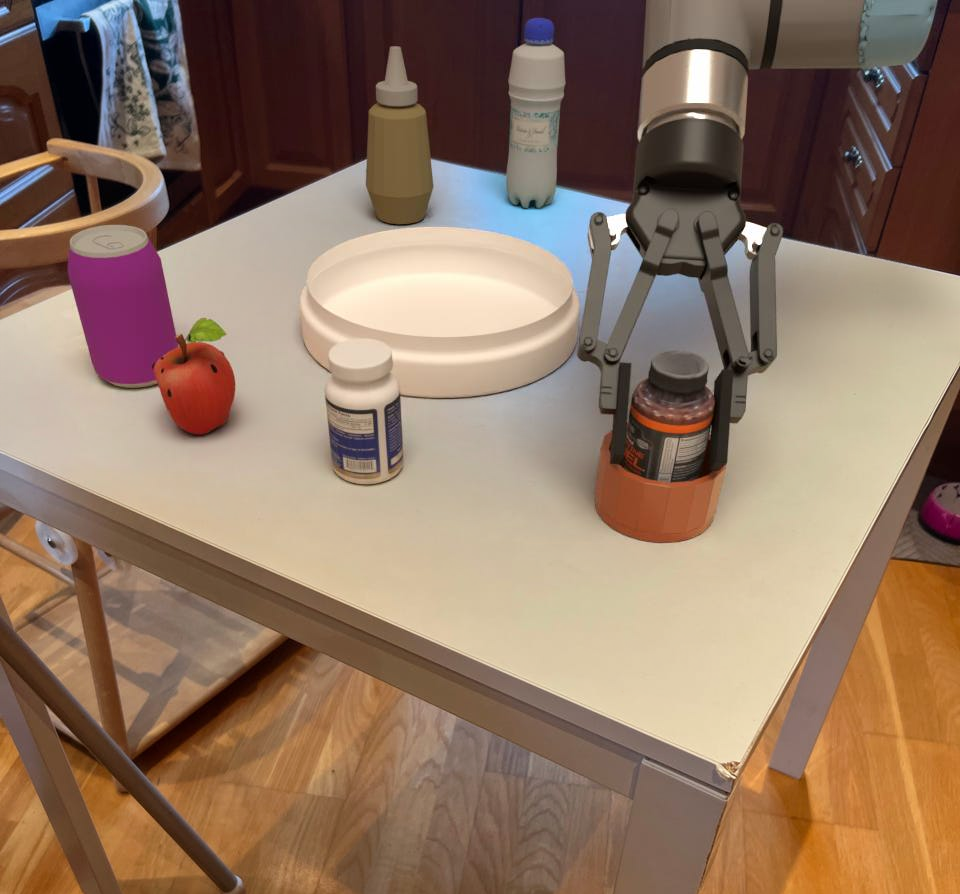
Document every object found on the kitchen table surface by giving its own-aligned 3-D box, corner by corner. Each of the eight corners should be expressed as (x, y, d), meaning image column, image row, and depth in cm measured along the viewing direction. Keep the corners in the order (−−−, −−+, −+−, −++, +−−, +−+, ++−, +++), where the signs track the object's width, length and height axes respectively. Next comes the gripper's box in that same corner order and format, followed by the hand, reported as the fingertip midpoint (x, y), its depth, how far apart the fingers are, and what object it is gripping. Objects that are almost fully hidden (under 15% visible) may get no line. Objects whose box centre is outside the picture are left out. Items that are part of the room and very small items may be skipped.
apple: (146, 442, 80) (118, 327, 73) (180, 401, 85) (156, 290, 78) (235, 453, 79) (215, 337, 72) (264, 411, 84) (248, 299, 77)
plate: (470, 256, 110) (471, 206, 106) (633, 348, 94) (641, 294, 90) (254, 313, 98) (246, 259, 94) (400, 430, 82) (398, 371, 78)
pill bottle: (378, 440, 81) (372, 327, 74) (417, 471, 78) (414, 356, 71) (318, 462, 78) (306, 347, 71) (356, 495, 75) (347, 378, 68)
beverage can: (199, 373, 88) (174, 240, 80) (123, 401, 84) (88, 264, 76) (155, 344, 92) (126, 214, 84) (80, 369, 88) (42, 236, 80)
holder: (718, 483, 78) (730, 428, 74) (709, 551, 71) (722, 495, 68) (604, 465, 79) (611, 411, 76) (585, 531, 72) (592, 474, 69)
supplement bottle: (603, 483, 76) (621, 348, 68) (671, 470, 77) (695, 336, 70) (639, 527, 72) (662, 388, 64) (709, 511, 73) (740, 375, 65)
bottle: (497, 207, 121) (503, 21, 107) (511, 190, 126) (519, 9, 112) (549, 214, 120) (562, 26, 106) (561, 196, 124) (576, 14, 111)
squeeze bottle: (443, 225, 116) (442, 53, 104) (378, 232, 114) (370, 58, 102) (421, 202, 122) (418, 37, 109) (359, 209, 119) (349, 41, 107)
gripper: (810, 178, 72) (789, 483, 72) (552, 162, 73) (529, 465, 72) (844, 120, 65) (822, 460, 64) (556, 103, 66) (531, 440, 65)
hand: (667, 462), depth 68 cm, fingers open, 6 cm apart
